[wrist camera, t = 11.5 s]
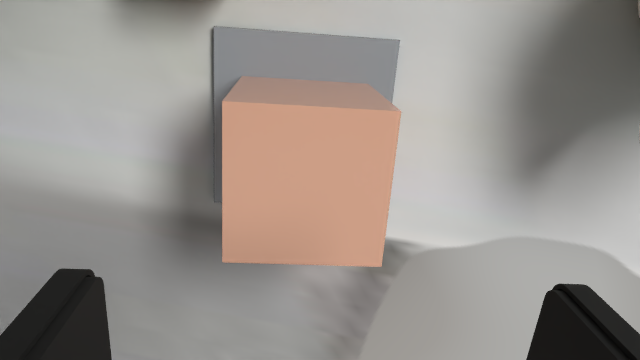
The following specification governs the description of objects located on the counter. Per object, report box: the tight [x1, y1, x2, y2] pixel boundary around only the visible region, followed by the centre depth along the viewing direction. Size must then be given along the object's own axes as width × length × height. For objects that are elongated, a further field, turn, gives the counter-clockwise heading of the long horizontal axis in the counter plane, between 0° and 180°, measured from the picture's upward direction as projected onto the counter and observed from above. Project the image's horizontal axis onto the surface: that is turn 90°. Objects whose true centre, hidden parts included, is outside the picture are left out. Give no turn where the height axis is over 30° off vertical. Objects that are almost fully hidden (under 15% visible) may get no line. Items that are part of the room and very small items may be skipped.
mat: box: [214, 26, 400, 203], centre depth 26 cm, size 10×10×1 cm
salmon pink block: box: [222, 76, 401, 267], centre depth 23 cm, size 7×7×8 cm
